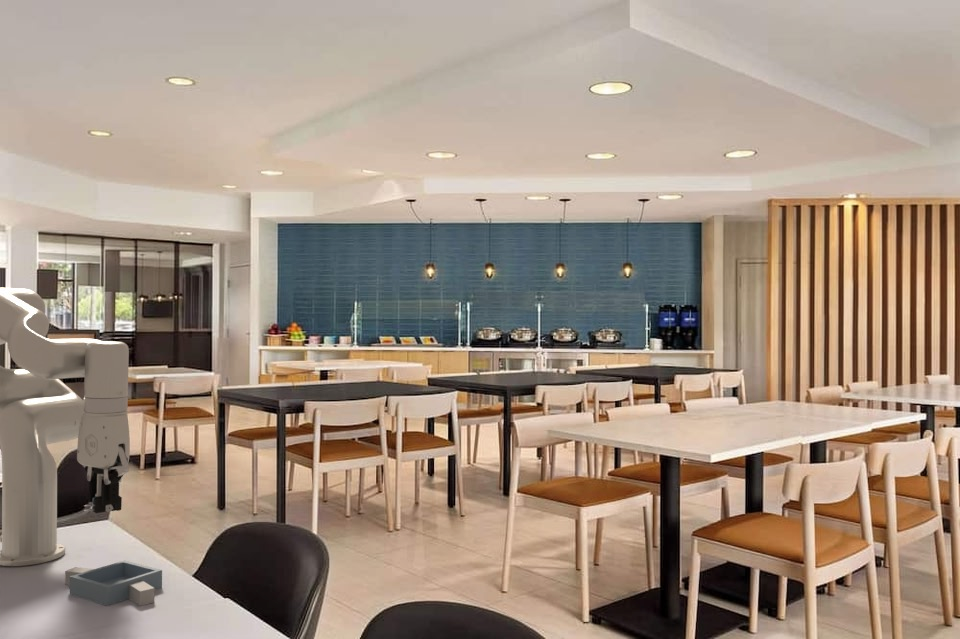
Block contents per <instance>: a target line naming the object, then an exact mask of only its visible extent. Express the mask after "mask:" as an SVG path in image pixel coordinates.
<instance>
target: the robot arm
mask: <svg viewBox="0 0 960 639" xmlns="http://www.w3.org/2000/svg"><path fill="white" fill-rule="evenodd" d="M49 328H50V322H49V318H48V317H47V315H46V305H45V301H44V299H43V298H42V297H41V296H40V294H38V293H37V292H35V291H34V290H31V289H28V288H17V287H16V288H15V287H14V288H13V287H0V345H4V344H6V343H7V350H8V353H9V355H10V358H11V359H12V361H13V363H15V364H16V366H18V367H19V368H6V367H4V366H2V365H0V454H1V476H2V477H1V484H2V488H1V490H2V493H1V494H2V495H1V500H2V501H1V503H2V504H1V535H0V543H1V549H0V566H2V567H3V566H4V567H24V566H32V565H33V566H34V565H38V564H44V563H47V562H51V561H53V560H56V559H59V558H61V557H63V556H64V555H65V554H66V546H65V545H63V544H61V543H58V542H57V541H58V537H57V536H58V535H57V534H58V533H57V532H58V525H57V524H58V467H57V462H56V460H55V458H54V456H53V454H52V453H51V452H50V450H49V449H48V446H47V445H51V444H55V443H56V444H57V443H62V442H69V441H73V440H75V439H76V440H77V447H76V448H77V450H76V460H77V462H78V463H79V464H80V465H82V467H83V468H84V470H85V473H87V474H86V479H87V481H88V499H87V500H88V502H89V503H92V499H93V498H94V497H96V496H95V494H97V474H96V473H94V467H95V468H100V469H104V482H105V484H101V486H102V505H104V506H106V505H110V504H115V503H118V502H119V496H120V483H121V482H122V479H123V476H124V475H126V474H127V473H128V472H129V471H130V466H129V461H130V455H131V454H130V453H131V445H130V444H131V443H130V439H131V438H130V424H129V418H128V401H129V400H128V399H129V398H128V397H129V363H130V362H129V361H130V360H129V359H130V358H129V357H130V353H129V352H130V351H129V350H130V349H129V345H128V344H127V343H126V342H123V341H115V340H114V341H113V340H109V341H108V340H106V341H105V340H104V341H103V340H100V339H97V338H96V339H95V338H51V339H50V338H47V334H48V332H49ZM72 378H74V379H75V378H84V385H83V386H84V387H83V396H84V397H83V398H81V397H80V396H79V395H78V394H77V393H76V392H75V391H74V390H72V389H71V388H70V387H69V386H68V385H67V384H65V383H64V382H63V381H62V380H61V379H72ZM114 463H115V465H118V466H113V465H114ZM110 466H112V467H110ZM115 469H116V471H113V472H112V473H111V475H110V470H115ZM102 479H103V476H102ZM98 497H100V496H98Z"/></svg>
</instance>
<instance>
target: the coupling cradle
mask: <svg viewBox="0 0 960 639" xmlns="http://www.w3.org/2000/svg"><path fill="white" fill-rule="evenodd" d="M64 584H65V585H68V586H69V595H70V596H74V597H77V598H80V599H84V600H86V601H90V602H93V603H97V604H100V605H102V606H106V607H108V606H112V605H115V604H116V603H120V602H123V601H126V600H130V601H132V602H134V603H135V604H136V605H138V606H140V607H141V606H145V605H148V604H152V603H155V591H156V590H158V589H162V588H163V570H162V569H160V568H156V567H153V566H147V565H144V564H140V563H135V562H133V561H132V562H131V561H130V560H122V561H118V562H114V563H111V564H108V565H104V566H101V567H97V568H88V567H87V568H86V567H80V566H79V567H78V566H74V567H73V568H70V569H67V570H65V571H64Z"/></svg>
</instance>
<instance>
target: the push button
mask: <svg viewBox="0 0 960 639" xmlns="http://www.w3.org/2000/svg"><path fill="white" fill-rule="evenodd" d="M113 466H118V465H115V463H114V465H113ZM110 467H112V466H110ZM113 471H116V469H115V470H110V475H111V473H112V472H113ZM94 473H96V474H97V494H95V496H96V497H94V498H93V499H92V502H91V503H90V504H85V505H83V507H92V508H90V509H84V510H83V511H84V512H91V511H92V512H93V513H95V514H99V513H101V514H102V513H107V512H114V511H118V512H119V511H121V510H122V503H123V502H122V500H123V497H122V496H121V495H119V502H118V503H115V504H110V505H106V506H104V505H102V486H101V484H105V482H104V469H100V468H95V467H94ZM102 476H103V478H102ZM98 496H100V497H98Z"/></svg>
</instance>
